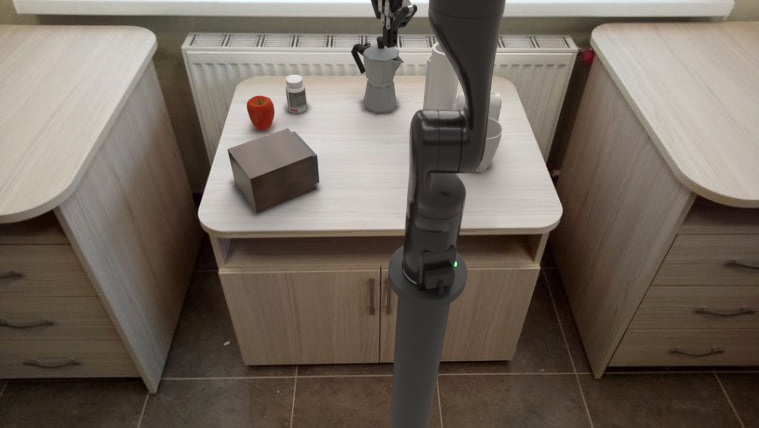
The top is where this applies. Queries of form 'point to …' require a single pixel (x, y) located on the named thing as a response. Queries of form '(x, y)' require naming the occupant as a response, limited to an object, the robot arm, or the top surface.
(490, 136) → the cup
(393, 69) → the coffee maker
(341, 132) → the top surface
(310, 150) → the drawer
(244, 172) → the cabinet
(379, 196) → the top surface
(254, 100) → the apple
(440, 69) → the vase
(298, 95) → the pill bottle
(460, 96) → the photo printer
